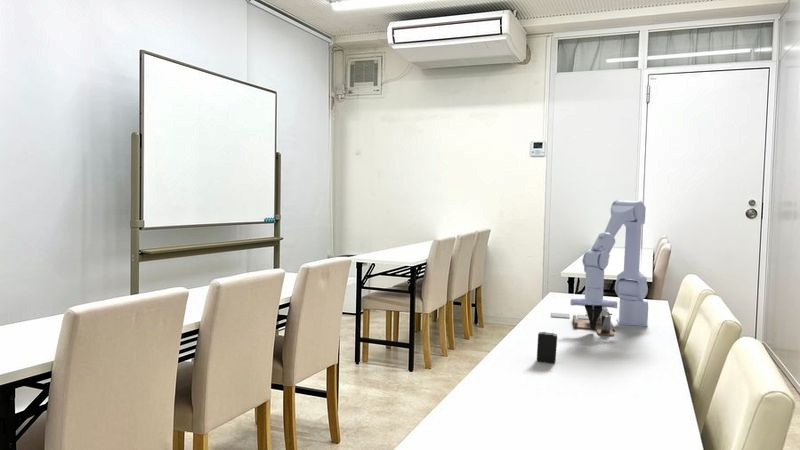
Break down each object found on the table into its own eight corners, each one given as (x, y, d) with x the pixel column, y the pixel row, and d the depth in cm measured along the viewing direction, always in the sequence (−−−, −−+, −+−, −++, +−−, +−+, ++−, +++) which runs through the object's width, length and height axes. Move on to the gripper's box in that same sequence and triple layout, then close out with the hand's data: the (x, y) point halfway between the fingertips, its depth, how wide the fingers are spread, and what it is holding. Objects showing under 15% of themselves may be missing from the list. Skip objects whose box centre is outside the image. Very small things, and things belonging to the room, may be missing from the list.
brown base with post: (611, 323, 213) (611, 306, 213) (617, 336, 195) (618, 318, 194) (572, 320, 216) (573, 304, 216) (575, 333, 198) (576, 315, 197)
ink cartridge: (555, 361, 167) (557, 333, 166) (554, 364, 165) (556, 335, 164) (537, 359, 169) (539, 331, 168) (536, 361, 167) (538, 333, 166)
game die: (600, 335, 211) (616, 312, 212) (603, 332, 203) (619, 308, 204) (578, 320, 214) (593, 297, 215) (579, 317, 206) (596, 293, 207)
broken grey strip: (595, 317, 223) (595, 315, 223) (597, 320, 217) (597, 319, 217) (551, 314, 227) (551, 312, 227) (551, 317, 221) (551, 316, 221)
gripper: (571, 288, 195) (570, 329, 196) (619, 290, 192) (617, 332, 193) (570, 284, 202) (569, 324, 203) (616, 286, 199) (614, 327, 200)
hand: (592, 328), depth 198 cm, fingers closed
